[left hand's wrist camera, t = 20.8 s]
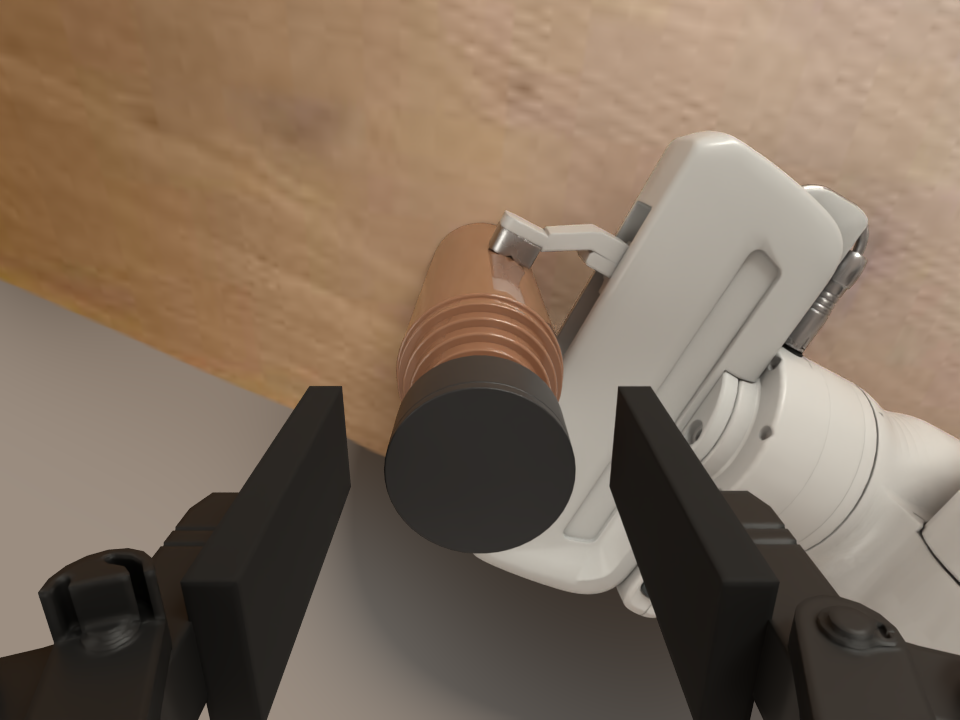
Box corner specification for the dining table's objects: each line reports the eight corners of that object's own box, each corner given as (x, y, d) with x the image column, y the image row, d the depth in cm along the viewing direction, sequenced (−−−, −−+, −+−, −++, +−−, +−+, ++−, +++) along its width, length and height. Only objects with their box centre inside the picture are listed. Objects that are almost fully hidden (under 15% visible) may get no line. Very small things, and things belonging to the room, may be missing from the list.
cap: (364, 454, 15) (348, 498, 13) (454, 321, 14) (450, 350, 12) (502, 530, 16) (505, 582, 14) (598, 411, 15) (615, 451, 13)
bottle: (502, 334, 32) (530, 581, 15) (415, 295, 32) (334, 507, 14) (546, 248, 31) (635, 411, 13) (455, 205, 30) (419, 316, 12)
